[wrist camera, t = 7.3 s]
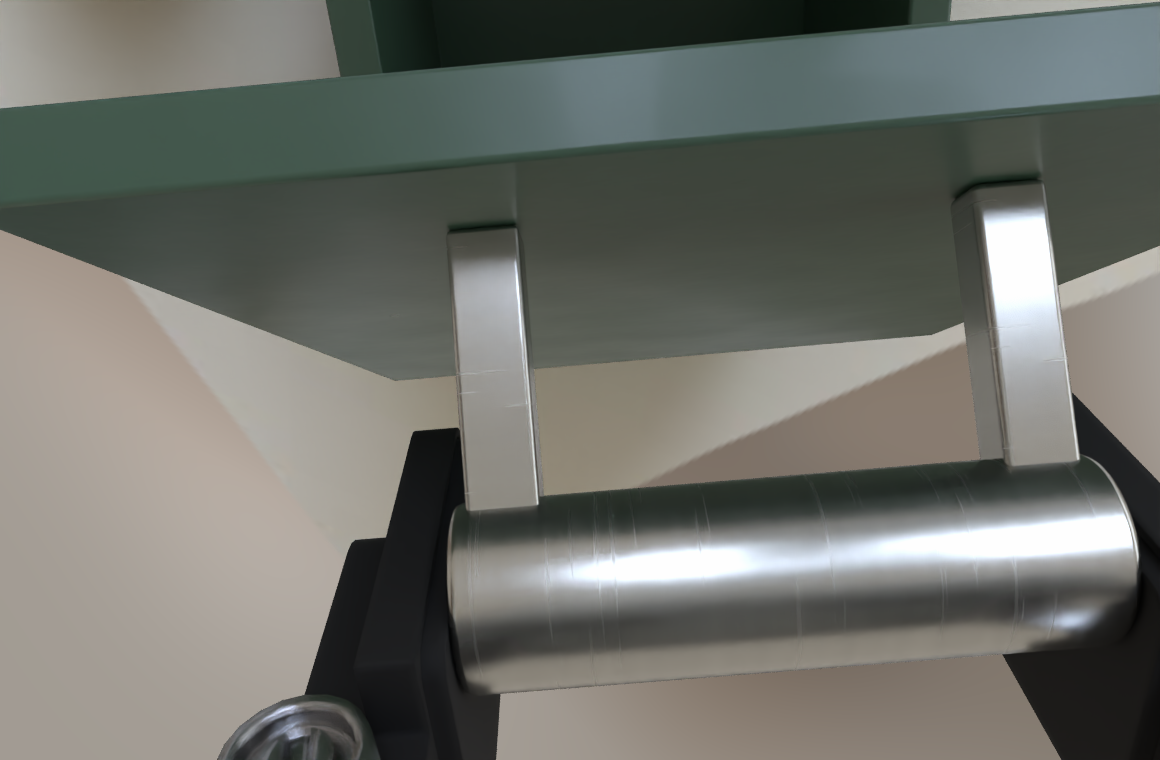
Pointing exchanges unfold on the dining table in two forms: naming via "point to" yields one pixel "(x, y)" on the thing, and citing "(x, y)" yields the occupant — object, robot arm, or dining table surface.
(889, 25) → the bin
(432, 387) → the dining table surface
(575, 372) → the dining table surface
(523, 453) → the bin lid
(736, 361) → the dining table surface
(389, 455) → the dining table surface
